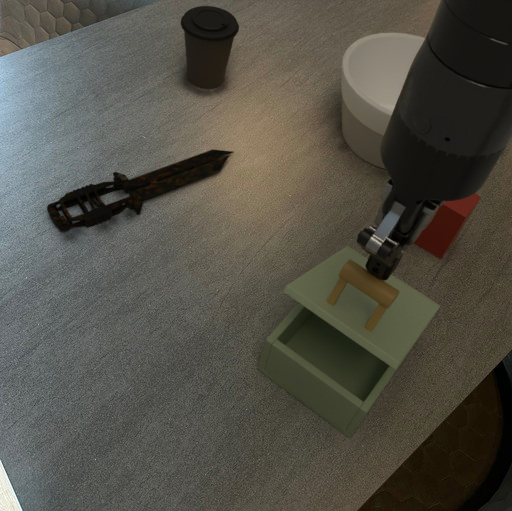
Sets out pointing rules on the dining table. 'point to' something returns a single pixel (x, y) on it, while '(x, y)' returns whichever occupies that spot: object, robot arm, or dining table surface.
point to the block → (446, 225)
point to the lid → (365, 305)
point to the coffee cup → (208, 44)
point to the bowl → (373, 88)
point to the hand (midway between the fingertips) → (379, 269)
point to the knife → (128, 185)
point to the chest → (324, 369)
